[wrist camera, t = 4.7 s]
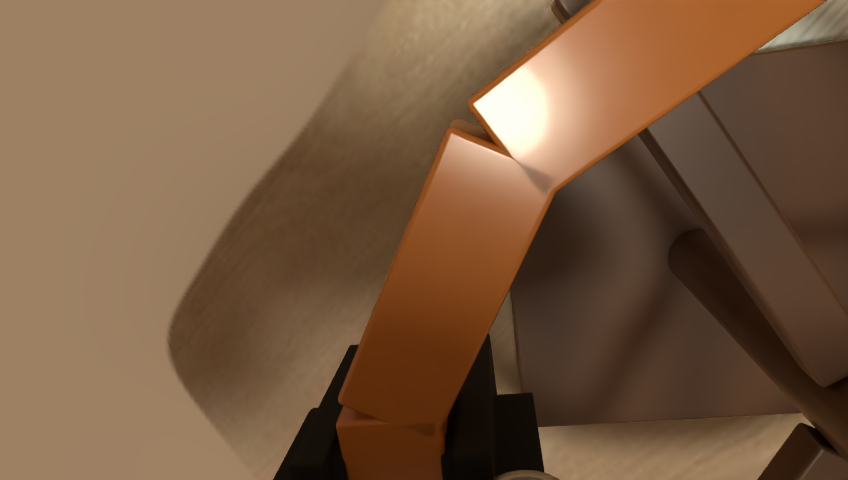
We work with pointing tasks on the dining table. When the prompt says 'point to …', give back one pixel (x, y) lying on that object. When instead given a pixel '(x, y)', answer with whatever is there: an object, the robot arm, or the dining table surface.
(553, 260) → the hanger stand
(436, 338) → the ring
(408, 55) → the dining table surface
